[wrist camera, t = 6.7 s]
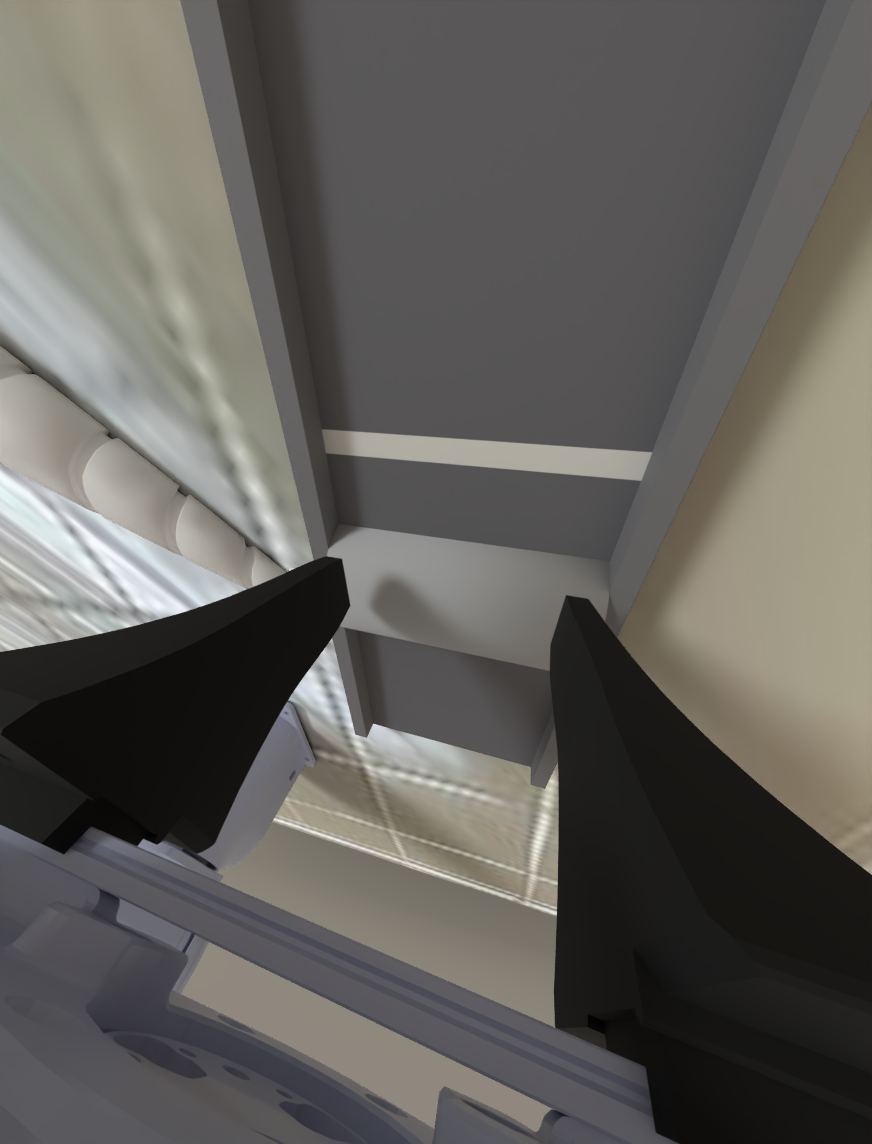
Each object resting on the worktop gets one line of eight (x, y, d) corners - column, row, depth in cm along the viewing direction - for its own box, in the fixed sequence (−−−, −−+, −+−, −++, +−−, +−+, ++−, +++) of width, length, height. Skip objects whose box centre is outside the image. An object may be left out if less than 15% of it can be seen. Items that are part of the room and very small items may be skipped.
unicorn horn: (322, 649, 20) (270, 719, 16) (-79, 339, 15) (-298, 330, 11) (361, 616, 17) (310, 689, 13) (-111, 225, 12) (-416, 159, 8)
